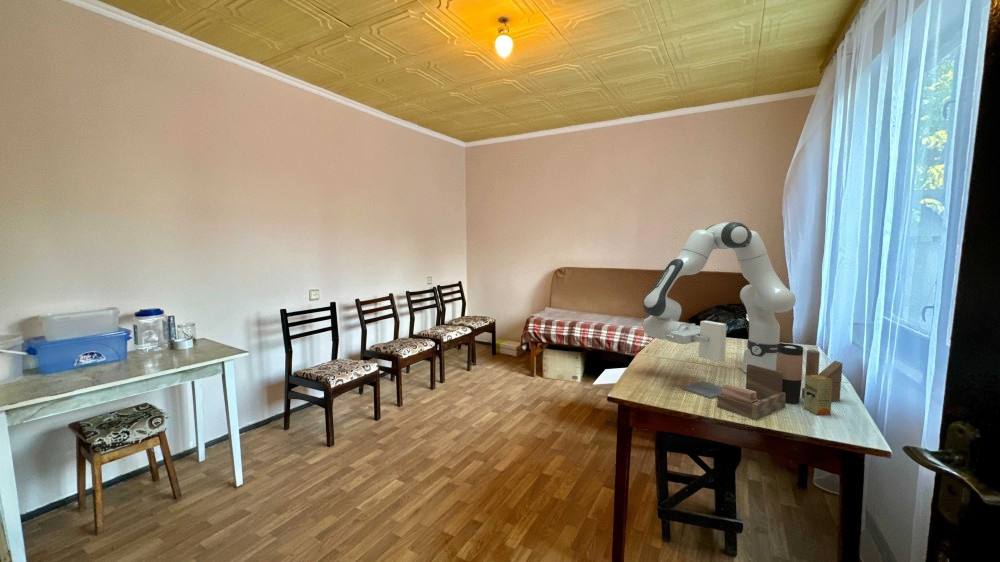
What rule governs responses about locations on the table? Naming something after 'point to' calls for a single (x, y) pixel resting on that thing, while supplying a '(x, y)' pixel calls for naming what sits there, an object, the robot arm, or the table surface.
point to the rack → (758, 393)
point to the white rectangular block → (713, 341)
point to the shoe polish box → (818, 394)
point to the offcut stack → (739, 394)
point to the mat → (704, 389)
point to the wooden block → (824, 372)
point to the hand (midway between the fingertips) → (712, 339)
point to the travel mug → (790, 370)
